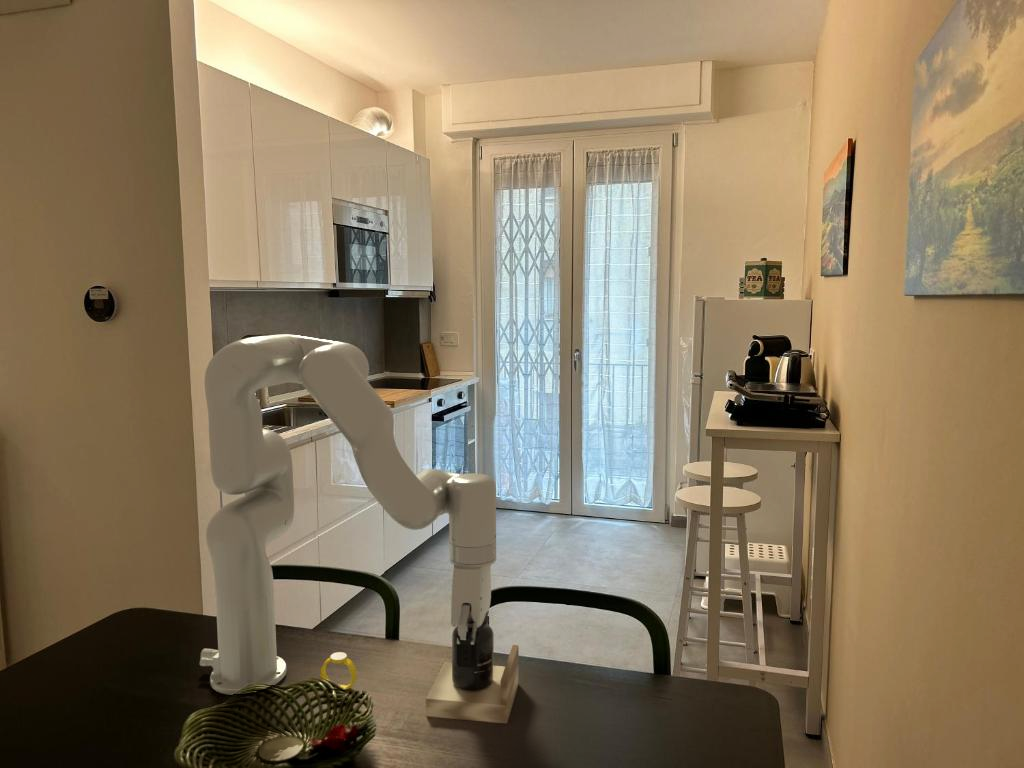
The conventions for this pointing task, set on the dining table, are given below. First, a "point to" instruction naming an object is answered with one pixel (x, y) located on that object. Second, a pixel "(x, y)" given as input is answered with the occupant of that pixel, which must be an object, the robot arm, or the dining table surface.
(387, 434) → the robot arm
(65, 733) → the dining table surface
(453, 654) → the supplement bottle
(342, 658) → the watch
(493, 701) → the birch stand
